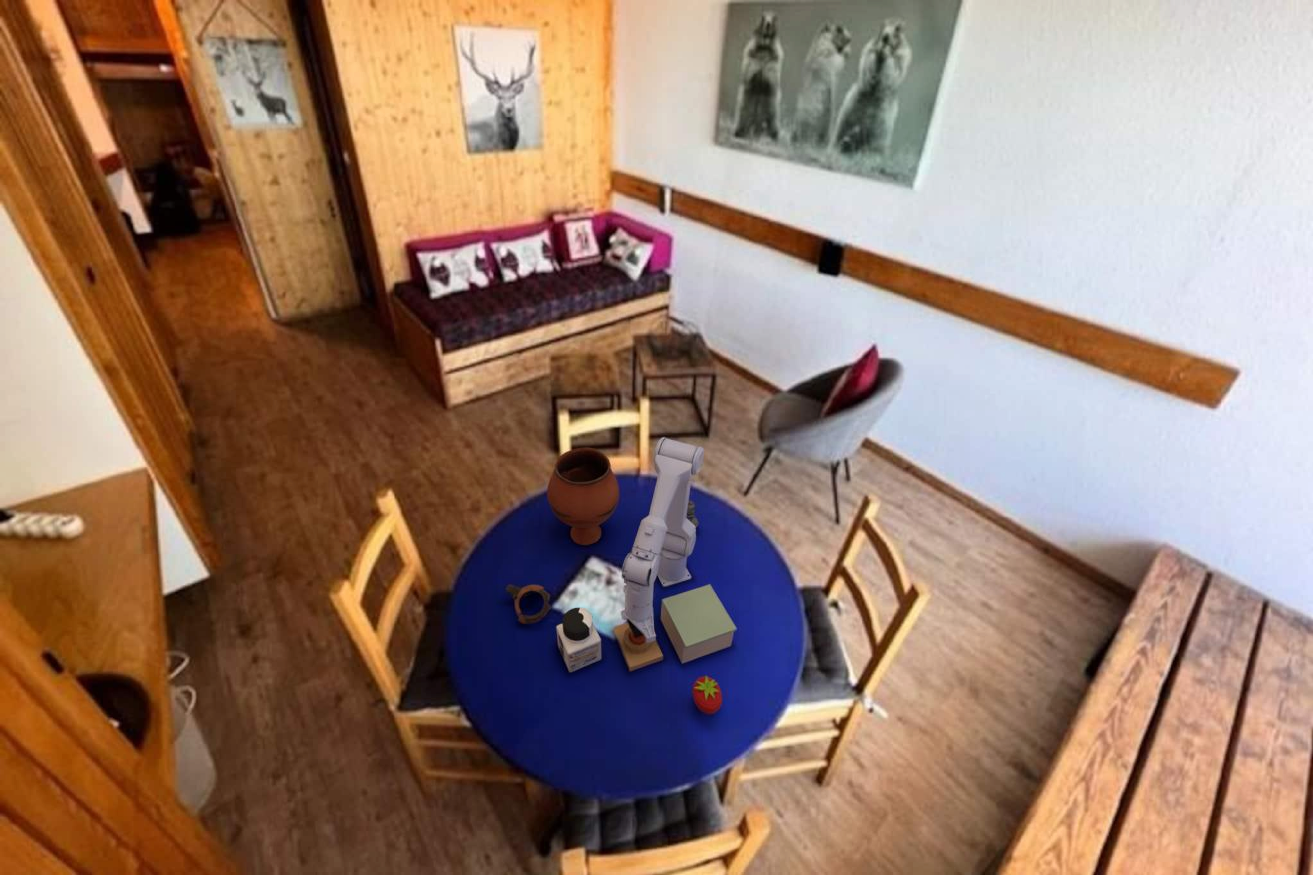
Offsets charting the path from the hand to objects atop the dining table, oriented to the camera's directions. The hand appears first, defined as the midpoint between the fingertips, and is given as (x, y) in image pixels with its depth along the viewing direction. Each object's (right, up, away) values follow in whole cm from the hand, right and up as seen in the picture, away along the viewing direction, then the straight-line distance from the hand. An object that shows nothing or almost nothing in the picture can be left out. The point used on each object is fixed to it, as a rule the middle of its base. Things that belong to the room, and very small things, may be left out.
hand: (638, 634), depth 131 cm
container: (-13, -4, +1) cm, 14 cm away
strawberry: (+14, -13, -8) cm, 21 cm away
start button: (0, -1, +1) cm, 2 cm away
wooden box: (+13, -2, +6) cm, 15 cm away
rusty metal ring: (-27, +3, +10) cm, 29 cm away
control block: (0, -3, +3) cm, 4 cm away
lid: (+14, +4, +2) cm, 14 cm away
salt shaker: (+13, +18, +32) cm, 39 cm away
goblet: (-16, +18, +30) cm, 38 cm away
